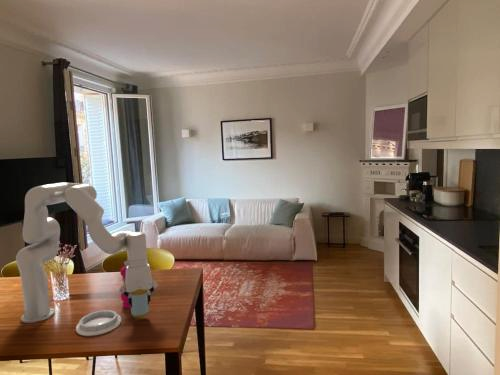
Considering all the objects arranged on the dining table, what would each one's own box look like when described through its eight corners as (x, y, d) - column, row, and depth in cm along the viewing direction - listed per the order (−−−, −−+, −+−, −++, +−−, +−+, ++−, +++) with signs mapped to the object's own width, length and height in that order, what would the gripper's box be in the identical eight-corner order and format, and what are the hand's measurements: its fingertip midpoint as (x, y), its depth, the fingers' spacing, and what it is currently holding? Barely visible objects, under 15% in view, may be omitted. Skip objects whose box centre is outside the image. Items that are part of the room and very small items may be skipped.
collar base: (66, 330, 141) (66, 323, 140) (102, 312, 155) (102, 305, 155) (95, 339, 132) (94, 332, 132) (130, 320, 147) (129, 313, 147)
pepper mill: (133, 309, 158) (129, 265, 155) (118, 308, 159) (115, 265, 157) (141, 302, 165) (138, 260, 163) (127, 301, 166) (123, 260, 164)
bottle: (142, 309, 152) (141, 275, 150) (152, 313, 147) (150, 279, 146) (128, 315, 147) (126, 280, 145) (137, 320, 142) (135, 284, 141)
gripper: (115, 268, 138) (117, 312, 140) (160, 262, 144) (162, 304, 146) (115, 262, 145) (117, 304, 147) (158, 257, 151) (159, 297, 153)
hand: (139, 304), depth 147 cm, fingers closed on bottle, 5 cm apart
